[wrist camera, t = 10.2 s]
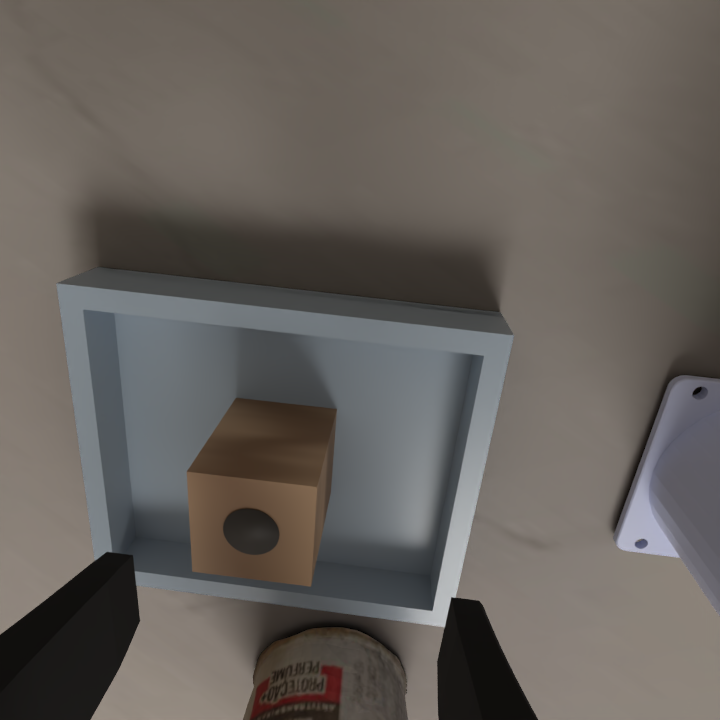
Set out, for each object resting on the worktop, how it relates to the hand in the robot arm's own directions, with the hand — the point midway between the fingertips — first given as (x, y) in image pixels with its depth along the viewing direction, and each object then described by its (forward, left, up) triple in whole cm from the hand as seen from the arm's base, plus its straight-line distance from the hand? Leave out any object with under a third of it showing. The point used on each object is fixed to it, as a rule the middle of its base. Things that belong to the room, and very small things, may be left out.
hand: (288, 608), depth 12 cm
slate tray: (+2, +2, -10) cm, 10 cm away
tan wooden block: (+2, +2, -9) cm, 10 cm away
